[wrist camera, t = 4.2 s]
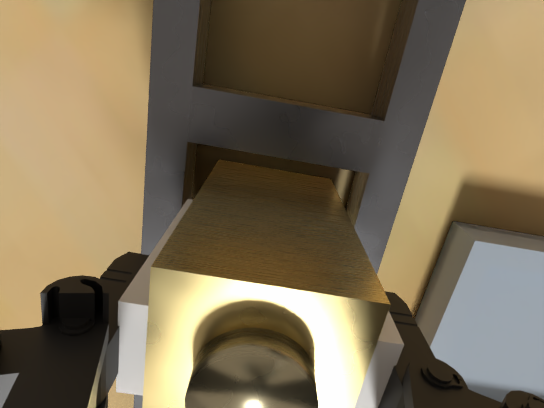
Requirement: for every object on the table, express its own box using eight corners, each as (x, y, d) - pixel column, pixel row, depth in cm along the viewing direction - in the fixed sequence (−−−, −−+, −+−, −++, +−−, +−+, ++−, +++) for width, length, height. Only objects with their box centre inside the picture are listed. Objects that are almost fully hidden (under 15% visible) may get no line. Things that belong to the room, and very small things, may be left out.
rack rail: (184, -202, 11) (165, -255, 10) (483, -136, 12) (522, -173, 10) (144, 418, 21) (131, 452, 20) (308, 440, 22) (311, 475, 20)
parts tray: (452, 220, 17) (475, 240, 15) (674, 258, 17) (723, 282, 15) (385, 394, 20) (395, 428, 19) (567, 421, 21) (595, 455, 19)
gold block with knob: (218, 159, 16) (136, 290, 6) (330, 178, 16) (403, 330, 7) (206, 258, 17) (127, 470, 8) (307, 274, 18) (339, 498, 8)
